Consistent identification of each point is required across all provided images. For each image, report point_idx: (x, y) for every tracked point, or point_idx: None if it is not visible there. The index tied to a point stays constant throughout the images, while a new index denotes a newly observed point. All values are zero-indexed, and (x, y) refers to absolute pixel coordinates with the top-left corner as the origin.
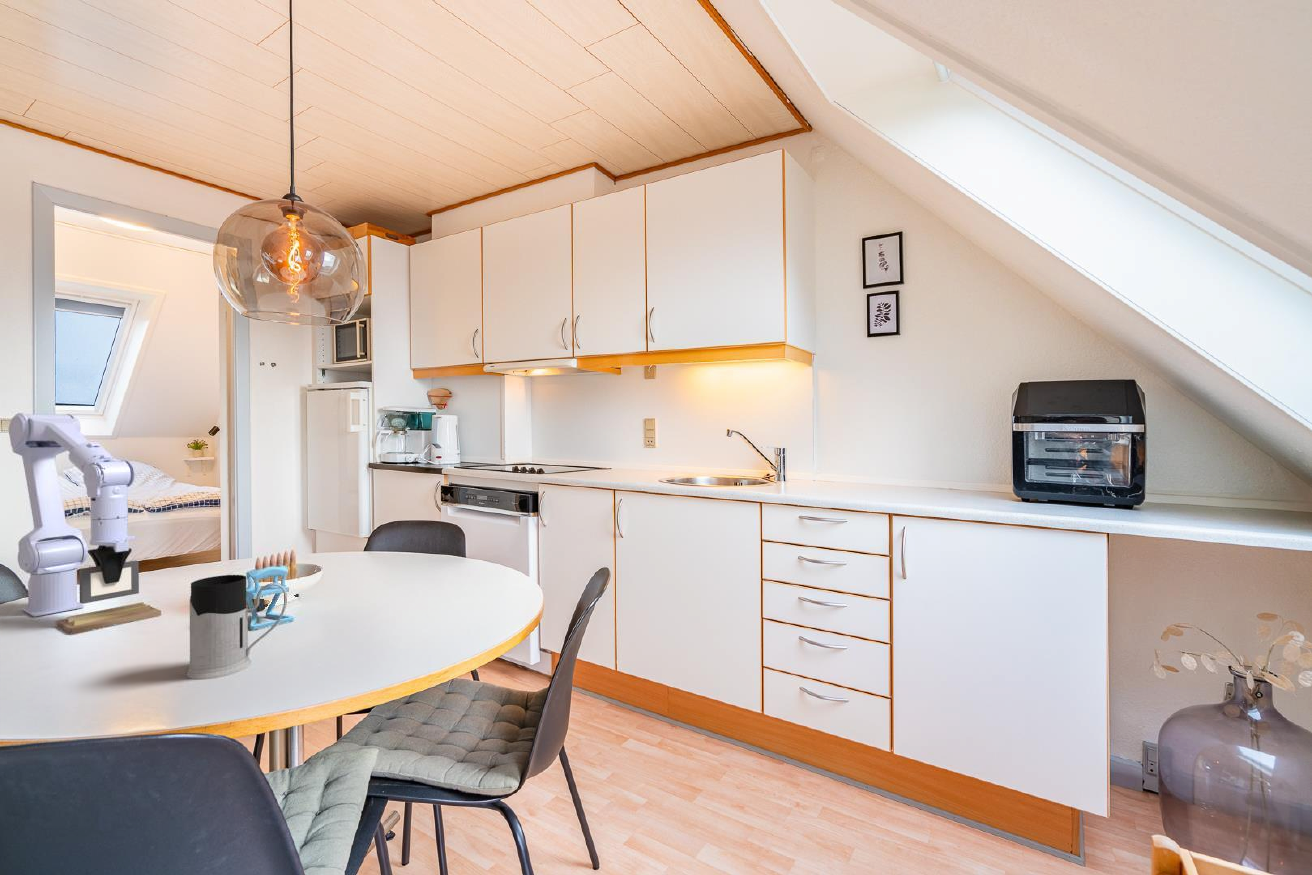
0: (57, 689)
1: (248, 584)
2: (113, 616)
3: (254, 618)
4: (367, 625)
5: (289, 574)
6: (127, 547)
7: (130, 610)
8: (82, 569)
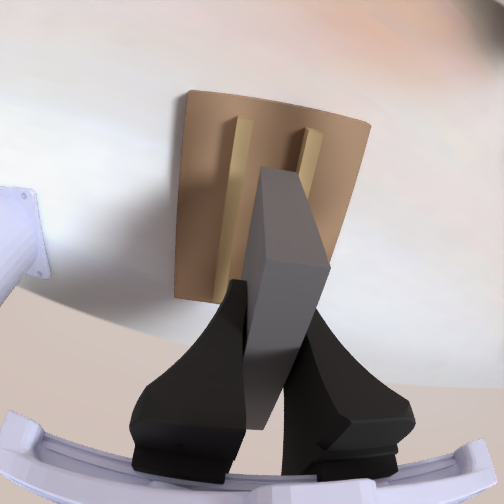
0: (497, 367)
1: None
2: None
3: None
4: None
5: None
6: (485, 455)
7: (307, 190)
8: (255, 427)
